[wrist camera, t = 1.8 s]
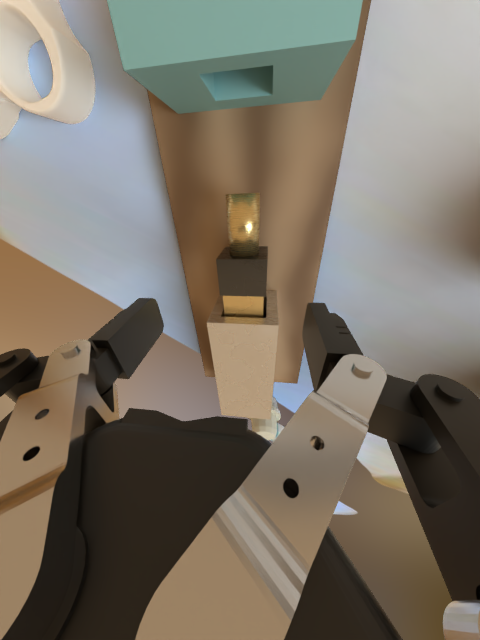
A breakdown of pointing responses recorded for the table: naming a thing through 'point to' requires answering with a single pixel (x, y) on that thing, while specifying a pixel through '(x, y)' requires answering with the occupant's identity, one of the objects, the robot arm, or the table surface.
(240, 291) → the plug
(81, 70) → the knuckle duster
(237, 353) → the sleeve
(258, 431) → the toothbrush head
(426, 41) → the table surface
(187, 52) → the teal rectangular block
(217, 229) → the base board
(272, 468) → the robot arm
